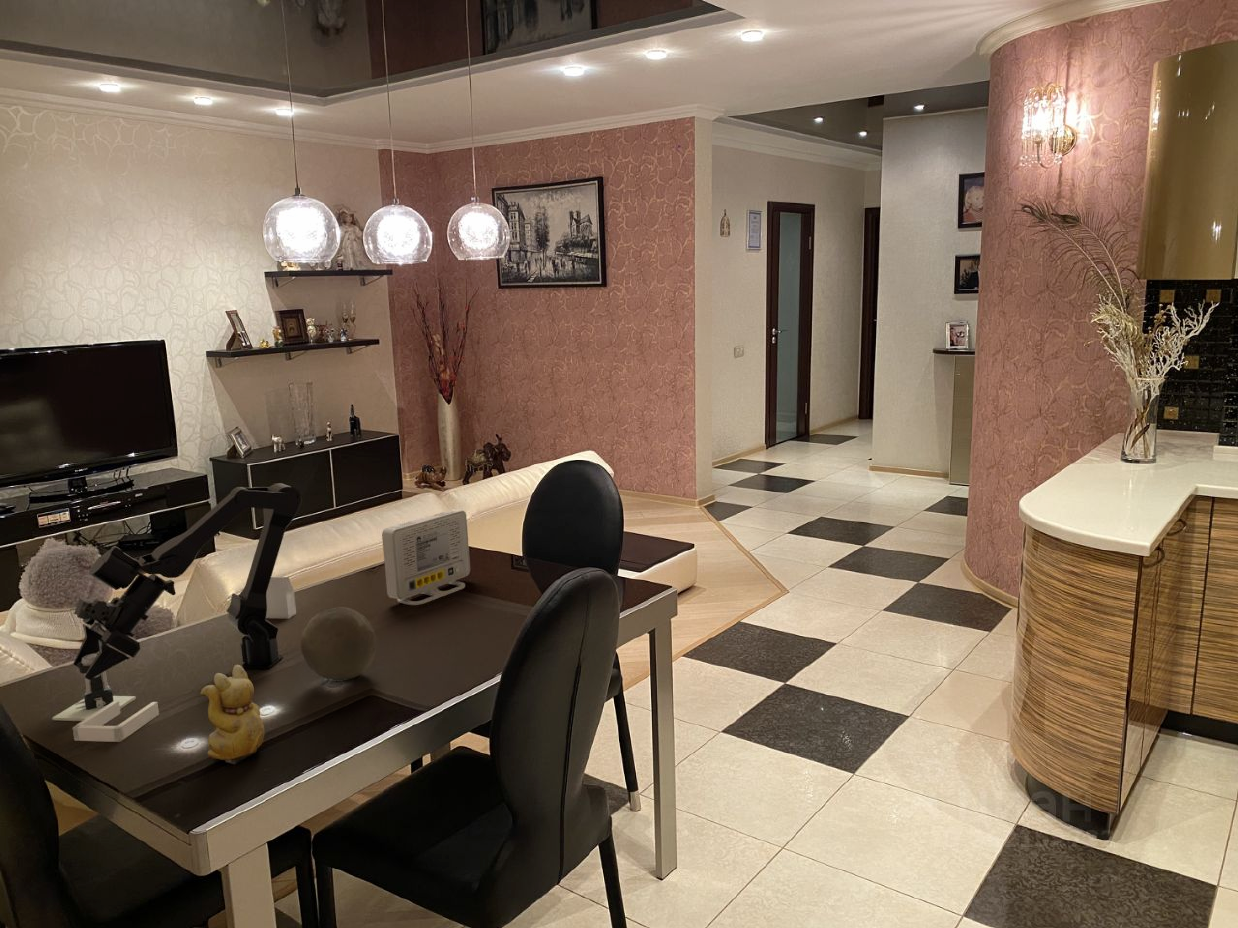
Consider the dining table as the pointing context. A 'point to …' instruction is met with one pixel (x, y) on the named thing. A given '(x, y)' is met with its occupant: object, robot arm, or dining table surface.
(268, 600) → the white faceted block
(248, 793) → the dining table surface
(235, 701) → the decorative figurine
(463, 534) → the network device
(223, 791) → the dining table surface
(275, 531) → the robot arm
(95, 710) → the mat
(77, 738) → the white u-shaped bracket
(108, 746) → the dining table surface
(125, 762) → the dining table surface
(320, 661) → the cantaloupe
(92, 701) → the push button
